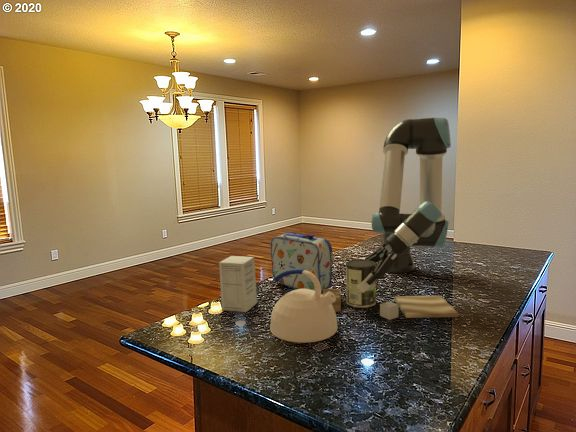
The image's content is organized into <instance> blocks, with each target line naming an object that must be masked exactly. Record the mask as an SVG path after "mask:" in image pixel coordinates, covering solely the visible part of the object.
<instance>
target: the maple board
mask: <svg viewBox="0 0 576 432" xmlns="http://www.w3.org/2000/svg"><path fill="white" fill-rule="evenodd" d="M394 301H395V304H397V305H399V309H400V310H401V312H402V314H403V315H404V317H405V318H406V319H408V318H409V319H416V318H420V319H421V318H422V317H425V318H459V312H458V311H457V310H456V309H455V308H454V307H453V306H452V305H451V304H449V302H447V301H446V299H445V298H444V297H443V296H441V295H405V296H403V295H401V296H399V295H397V296H394Z"/></svg>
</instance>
